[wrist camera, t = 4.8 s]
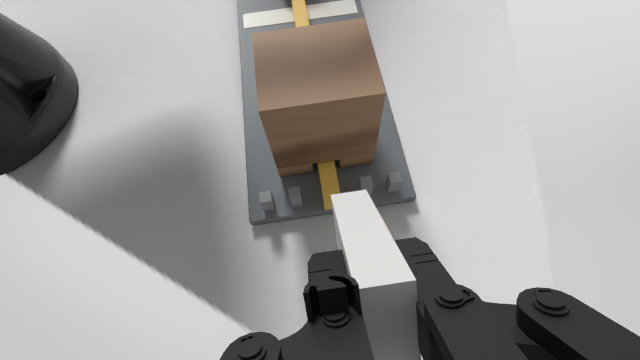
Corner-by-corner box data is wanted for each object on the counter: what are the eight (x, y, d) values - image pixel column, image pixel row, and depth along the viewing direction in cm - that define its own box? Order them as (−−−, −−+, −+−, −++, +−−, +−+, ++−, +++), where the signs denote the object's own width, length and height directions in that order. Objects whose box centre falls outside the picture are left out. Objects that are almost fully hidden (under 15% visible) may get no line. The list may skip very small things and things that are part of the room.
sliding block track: (413, 200, 26) (427, 173, 22) (251, 225, 26) (236, 201, 22) (350, -23, 38) (352, -67, 34) (238, -8, 37) (226, -50, 33)
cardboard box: (373, 163, 26) (386, 93, 19) (279, 177, 26) (258, 111, 19) (358, 99, 29) (364, 17, 22) (273, 112, 29) (252, 33, 22)
